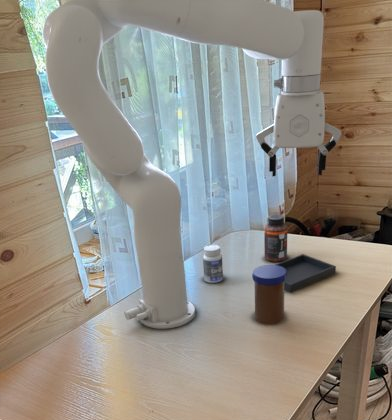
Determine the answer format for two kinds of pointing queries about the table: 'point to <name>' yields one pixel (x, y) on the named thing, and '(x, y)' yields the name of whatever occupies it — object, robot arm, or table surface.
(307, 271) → the tray
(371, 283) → the table surface
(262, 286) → the jar
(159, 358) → the table surface
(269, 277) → the jar lid
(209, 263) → the pill bottle
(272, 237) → the supplement bottle
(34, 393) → the table surface
